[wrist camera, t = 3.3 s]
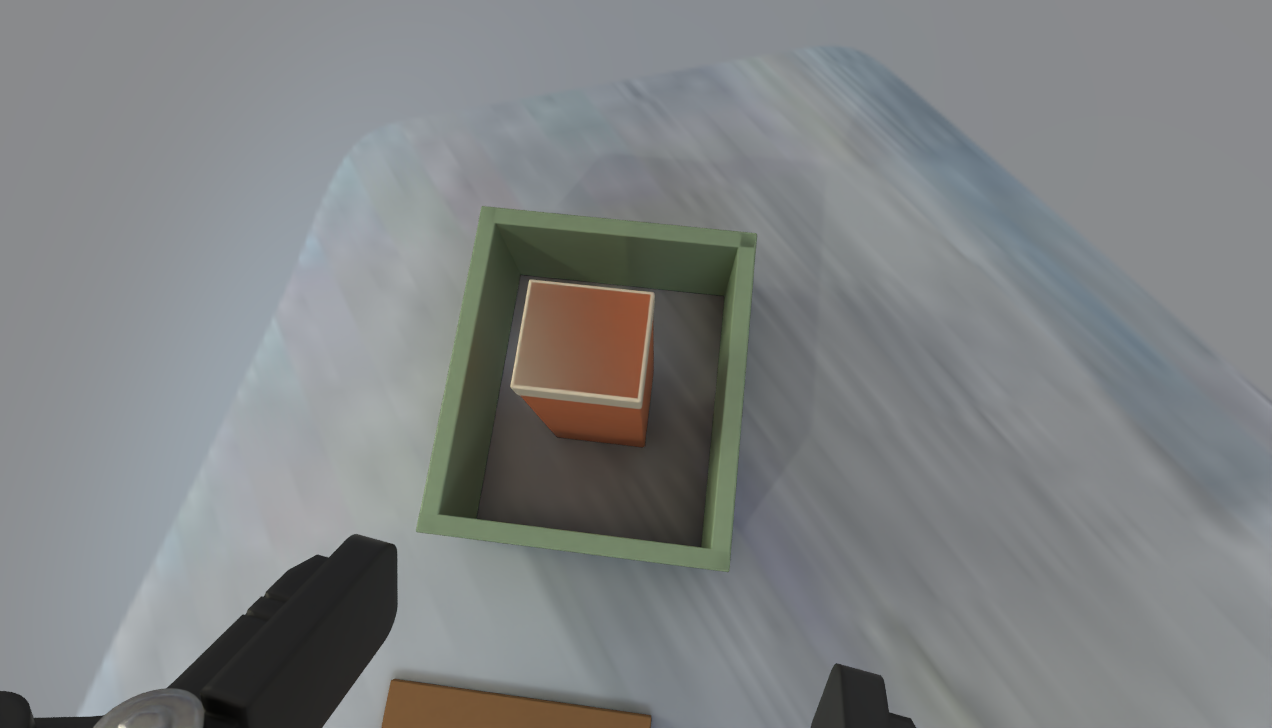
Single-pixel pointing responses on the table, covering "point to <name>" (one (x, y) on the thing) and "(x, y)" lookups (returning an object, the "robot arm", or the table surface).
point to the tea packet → (587, 360)
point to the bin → (481, 347)
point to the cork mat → (492, 710)
